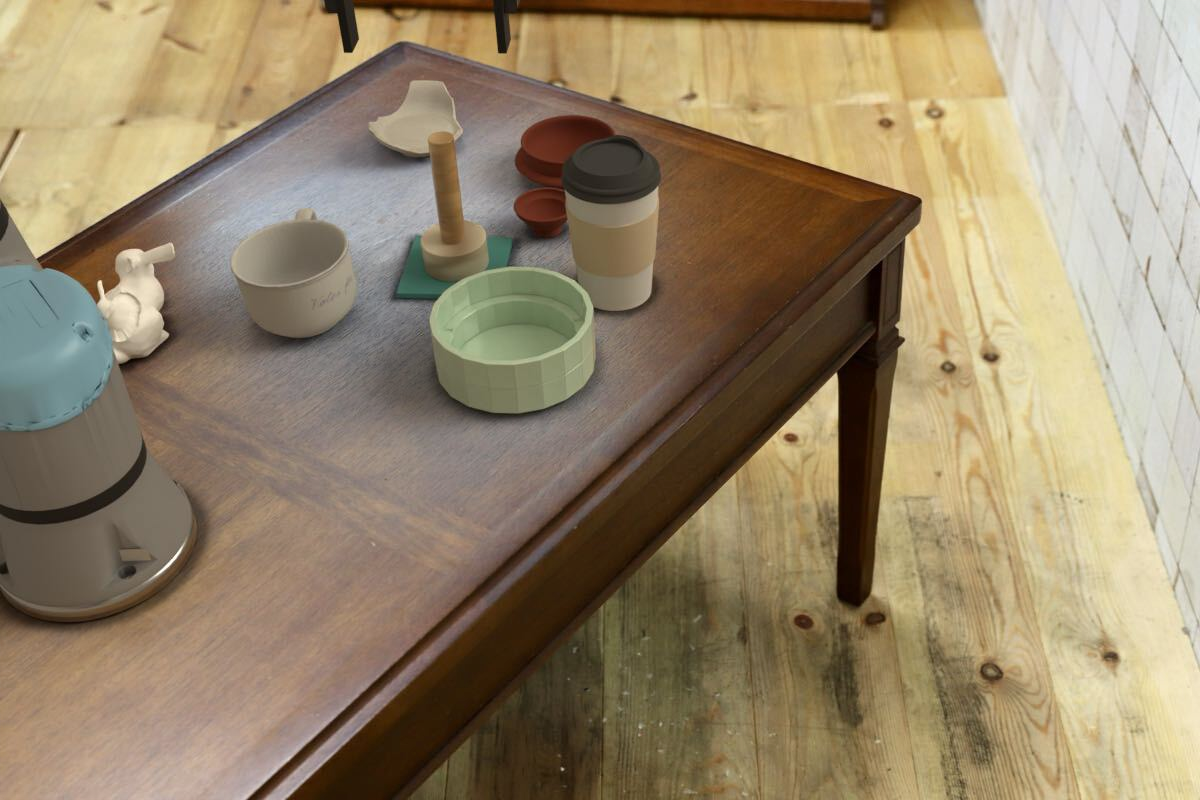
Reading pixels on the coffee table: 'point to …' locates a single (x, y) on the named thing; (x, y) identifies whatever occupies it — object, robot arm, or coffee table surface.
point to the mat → (425, 286)
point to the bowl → (513, 339)
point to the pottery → (551, 167)
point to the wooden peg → (451, 221)
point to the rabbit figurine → (135, 303)
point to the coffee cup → (613, 219)
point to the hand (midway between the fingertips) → (427, 46)
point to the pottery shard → (417, 119)
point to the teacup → (296, 275)
